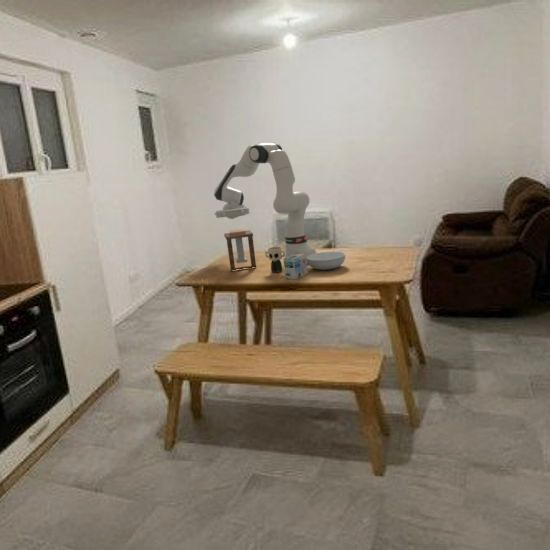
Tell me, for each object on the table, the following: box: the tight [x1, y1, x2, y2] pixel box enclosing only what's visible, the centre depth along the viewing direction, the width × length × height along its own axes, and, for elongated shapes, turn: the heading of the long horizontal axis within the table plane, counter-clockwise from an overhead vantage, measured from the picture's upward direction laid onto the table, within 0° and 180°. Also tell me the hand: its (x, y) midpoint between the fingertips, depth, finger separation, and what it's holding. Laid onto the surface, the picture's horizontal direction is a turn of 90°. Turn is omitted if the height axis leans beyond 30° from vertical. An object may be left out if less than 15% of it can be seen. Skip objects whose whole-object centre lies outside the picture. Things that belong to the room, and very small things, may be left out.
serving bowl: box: [306, 251, 346, 271], centre depth 260 cm, size 21×21×7 cm
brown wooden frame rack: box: [223, 229, 257, 271], centre depth 281 cm, size 14×15×20 cm
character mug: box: [264, 246, 285, 273], centre depth 264 cm, size 11×7×13 cm, turn 73°
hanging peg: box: [229, 228, 248, 264], centre depth 281 cm, size 8×8×18 cm
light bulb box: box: [282, 254, 308, 280], centre depth 249 cm, size 11×7×11 cm, turn 143°
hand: (233, 213), depth 290 cm, fingers open, 8 cm apart
